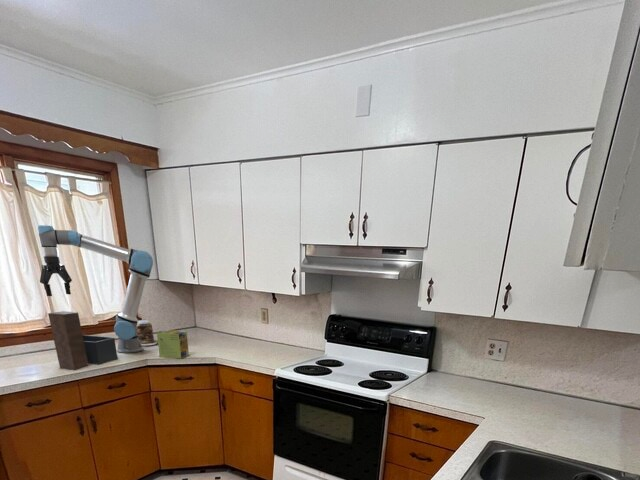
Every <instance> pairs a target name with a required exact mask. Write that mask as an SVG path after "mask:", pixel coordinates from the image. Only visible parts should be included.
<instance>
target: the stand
mask: <svg viewBox="0 0 640 480" xmlns="http://www.w3.org/2000/svg"><path fill="white" fill-rule="evenodd" d="M47 316H48V319H49V325H50V329H51V333H52V338H53V343H54V347H55V352H56V357H57V361H58V366H59V369H62V370H70V371H71V370H72V371H77V370H81V369H83V368H86V367H89V363H88V361H87V356H86V351H85V346H84V340H83V335H84V334H83V331H82V325H81V320H80V315H79V312H78V311H66V310H62V311H55V312H49V313H47Z"/></svg>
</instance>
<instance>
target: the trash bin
mask: <svg viewBox="0 0 640 480" xmlns="http://www.w3.org/2000/svg"><path fill="white" fill-rule="evenodd" d="M82 335H83V340H84V346H85V351H86V356H87V361H88V365H98V366H99V365H103V364H105V363H109V362H112V361H115V360H118V359H119V358H118V350H117V345H116V338H115V337H112V336H111V337H110V336H100V335H88V334H82Z"/></svg>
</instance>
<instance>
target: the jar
mask: <svg viewBox="0 0 640 480" xmlns="http://www.w3.org/2000/svg"><path fill="white" fill-rule="evenodd" d="M153 329H154V328H153V325H152V323H150V320H147V319H142V320H141V319H138V323H137V333H138V339H139V341H140V343H141V344H152V343H154V342H155V336H154V331H153Z"/></svg>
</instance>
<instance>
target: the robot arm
mask: <svg viewBox="0 0 640 480" xmlns="http://www.w3.org/2000/svg"><path fill="white" fill-rule="evenodd" d="M37 231H38V237H39V241H40V245H41V250H42V255H43V261H44V263H45V264H42V265H41V273H40V278H39V283H40V284H42V285H43V288H44V290H45V293H46V296H47V297H53V294H52V290H51V289H52V288H51V284H50V283H49V282H50V280H51V278H52V275H54V274H57V275H58V276H59V277H60V278H61V279H62V281H64V282H63V285H64V290H65V294H66V295H71V294H72V292H71V283H72V282H73V279H72V277H71V275H70V274H69V272H68V270H67V269H66V266H65V264H61V259H60V256H59V255H60V254H59V249H58V246H63V245H64V246H73V247H77V248H81V249H84V250H87V251H90V252H93V253H96V254H99V255H102V256H106V257H109V258H112V259H115V260H119V261H122V262H124V263H125V262H126V263H127V265H129V269H128V272H129V273H130V276H129V280H128V285H127V288H126V293H125V296H124V300H123V304H122V309H121V312H119V313H118V314H117V315H116V316H115V324H114V326H113V330H114V333H115V335H116V337H118V344H117V353H123V354H129V353H130V354H132V353H139V352H142V351H143V347H144V348H147V347H149V348H150V347H155V346H158V342H156V343H153V344H148V345H147V344H146V345H144V344H143V345H142V343H140V341H139V339H138V333H137V323H138V321H139V319H138V318H137V316H138V313H139V312H138V311H139V307H140V305H141V301H142V296H143V292H144V288H145V286H146V285H145V284H146V281H147V280H148V279H150V277H151V273H152V269H153V267H154V259H153V257H152V255H151V254H150V253H149V252H148V251H145V250H140V249H139V250H138V249H134V248H126V247H122V246H119V245H116V244H114V243H109V242H106V241H104V240H100V239H98V238H94V237H91V236H88V235H85V234H82V233H79V232H78V231H77V230H73V229H70V230H67V229H55V228H54V226H53V225H45V224H44V225H41V224H40V225H39V224H38V226H37Z"/></svg>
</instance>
